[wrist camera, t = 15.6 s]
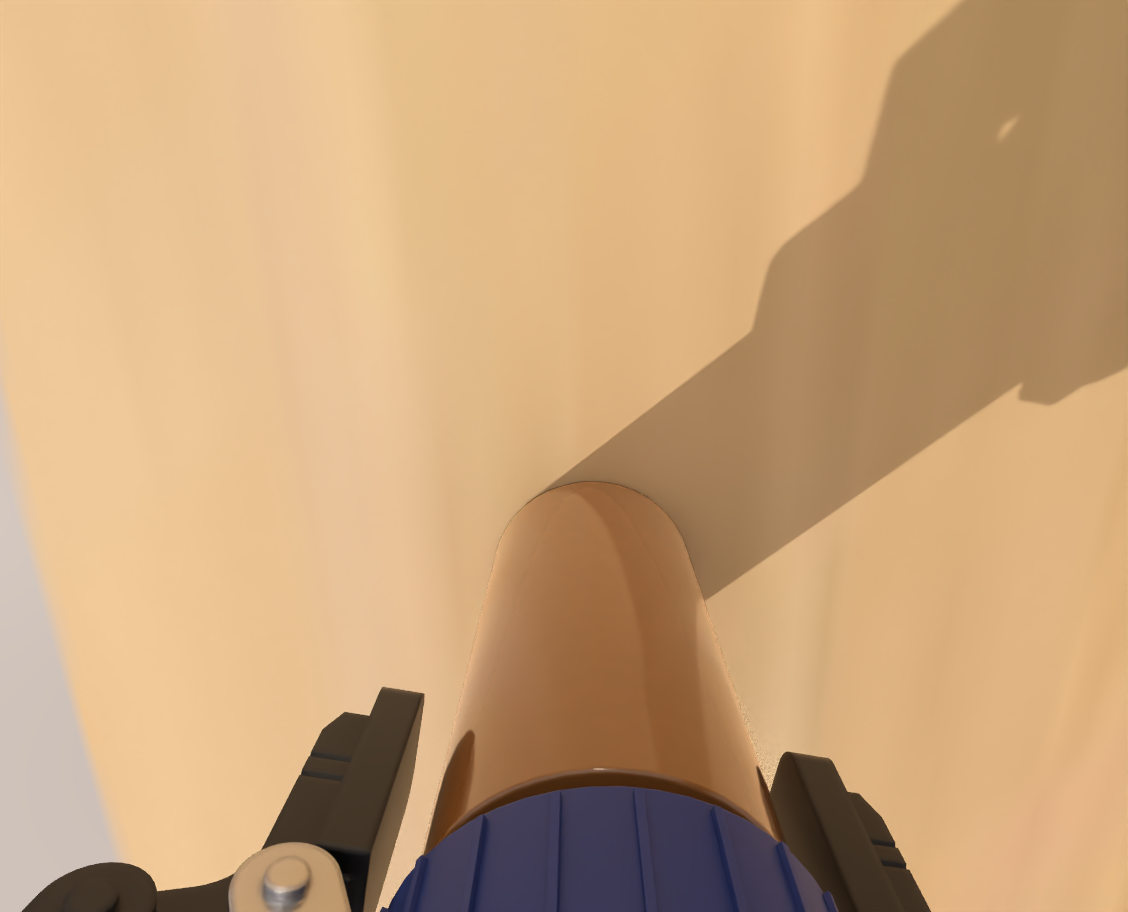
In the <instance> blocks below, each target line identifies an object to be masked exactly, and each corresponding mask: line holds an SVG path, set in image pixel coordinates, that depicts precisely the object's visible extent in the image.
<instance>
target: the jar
mask: <svg viewBox="0 0 1128 912" xmlns="http://www.w3.org/2000/svg"><path fill="white" fill-rule="evenodd" d="M589 786H627V787H637V788H647V789H657V790H661V791H666V792H671V793H675V794H680V795H684V796H689V797H692V798H695V799H698V800H701V801H704V802H707V803H709V804H712V805H716V806H719V807H722V808H723V809H725V810H727V811H729V812H731V813H733V814H735V815H737V816H739V817H741V818H743V819H746V820H747V821H749V822H750V823H752V824H754V825H755V826H757V827H758V828H760V829H761V830H763V831H764V832H766V833H768V834H769V835H771V836H772V837H773V838H774V839H776V840H777V841H778V842H779V843H780V842H781V841H783V842H784V843H785V844H786V845H787V843H786V840H785V837H784V834H783V831H782V828H781V825H780V822H779V819H778V816H777V813H776V810H775V807H774V805H773V802H772V799H771V796H770V793H769V790H768V787H767V784H766V781H765V778H764V775H763V772H762V769H761V766H760V764H759V761H758V758H757V755H756V752H755V749H754V746H753V743H752V740H751V737H750V734H749V731H748V728H747V725H746V723H745V720H744V717H743V714H742V711H741V708H740V705H739V702H738V699H737V696H736V693H735V690H734V687H733V684H732V682H731V679H730V676H729V673H728V670H727V667H726V664H725V661H724V658H723V655H722V652H721V649H720V646H719V643H718V641H717V638H716V635H715V632H714V629H713V626H712V623H711V620H710V617H709V614H708V611H707V608H706V605H705V602H704V600H703V597H702V594H701V591H700V588H699V585H698V582H697V579H696V576H695V573H694V570H693V567H692V564H691V561H690V559H689V556H688V553H687V550H686V547H685V544H684V542H683V539H682V537H681V534H680V532H679V531H678V529H677V527H676V526H675V524H674V522H673V521H672V520H671V519H670V517H669V516H668V515H667V514H666V513H665V512H664V511H663V510H662V509H661V508H660V507H659V506H658V505H657V504H655V503H654V502H653V501H651V500H650V499H648V498H647V497H645V496H644V495H642V494H640V493H638V492H636V491H634V490H631V489H629V488H626V487H623V486H619V485H615V484H611V483H603V482H580V483H572V484H568V485H564V486H560V487H557V488H555V489H552V490H550V491H547V492H545V493H543V494H542V495H540V496H538V497H536V498H535V499H533V500H532V501H531V502H529V503H528V504H527V505H525V506H524V507H523V508H522V509H521V510H520V511H519V512H518V513H517V514H516V515H515V516H514V518H513V519H512V520H511V522H510V523H509V524H508V526H507V528H506V529H505V531H504V533H503V534H502V537H501V539H500V542H499V544H498V547H497V551H496V555H495V559H494V563H493V568H492V572H491V576H490V580H489V584H488V588H487V592H486V596H485V600H484V604H483V608H482V612H481V616H480V620H479V624H478V628H477V632H476V637H475V641H474V645H473V649H472V653H471V657H470V661H469V665H468V669H467V673H466V677H465V681H464V685H463V689H462V693H461V697H460V701H459V706H458V710H457V714H456V718H455V722H454V726H453V730H452V734H451V738H450V742H449V746H448V750H447V754H446V758H445V762H444V766H443V770H442V775H441V779H440V783H439V787H438V791H437V795H436V799H435V803H434V807H433V811H432V815H431V819H430V823H429V827H428V831H427V835H426V839H425V843H424V848H423V852H422V855H424V856H425V855H426V854H428V853H429V852H430V851H431V850H432V849H433V848H434V847H435V846H437V845H438V844H439V843H440V842H441V841H442V840H443V839H445V838H446V837H447V836H449V835H450V834H452V833H453V832H455V831H456V830H458V829H459V828H461V827H462V826H464V825H465V824H467V823H468V822H470V821H472V820H474V819H476V817H478V816H480V815H482V814H486V813H488V812H490V811H492V810H494V809H496V808H499V807H501V806H504V805H507V804H510V803H512V802H515V801H518V800H521V799H524V798H527V797H531V796H535V795H539V794H544V793H548V792H552V791H557V790H564V789H572V788H581V787H589Z"/></svg>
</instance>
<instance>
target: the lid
mask: <svg viewBox="0 0 1128 912" xmlns="http://www.w3.org/2000/svg"><path fill="white" fill-rule="evenodd" d="M380 912H838V909H837V906H836V904H835V901H834V899H833V896H832V895H831V893H830V892H829V891H827V892H825V893H823V891H822V890H821V888H820V887H819V885H818V884H817V882H816V880H815V879H814V877H813V876H812V875H811V874H810V873H809V872H808V870H807V869H806V868H805V867H804V866H803V865H802V864H801V862H800V861H799V860H798V859H797V858H796V857H795V856H794V855H793V854H792V853H791V852H790V850H789V847H788V845H786V844H785V843H784V842H783V841H781V842H780V843H779V842H778V841H777V840H776V839H774V838H773V837H772V836H771V835H769V834H768V833H766V832H764V831H763V830H761V829H760V828H758V827H757V826H755V825H754V824H752V823H750V822H749V821H747V820H746V819H743V818H741V817H739V816H737V815H735V814H733V813H731V812H729V811H727V810H725V809H723V808H722V807H719V806H716V805H712V804H709V803H707V802H704V801H701V800H698V799H695V798H692V797H689V796H684V795H680V794H675V793H671V792H666V791H661V790H657V789H647V788H637V787H627V786H589V787H581V788H572V789H564V790H557V791H552V792H548V793H544V794H539V795H535V796H531V797H527V798H524V799H521V800H518V801H515V802H512V803H510V804H507V805H504V806H501V807H499V808H496V809H494V810H492V811H490V812H488V813H486V814H482V815H480V816H478V817H476V819H474V820H472V821H470V822H468V823H467V824H465V825H464V826H462V827H461V828H459V829H458V830H456V831H455V832H453V833H452V834H450V835H449V836H447V837H446V838H445V839H443V840H442V841H441V842H440V843H439V844H438V845H437V846H435V847H434V848H433V849H432V850H431V851H430V852H429V853H428V854H426V855H425V856H424V855H421V856H420V857H419V858H418V859H417V861H416V864H415V868H414V869H413V870H412V871H411V872H410V874H409V875H408V876H407V877H406V878H405V880H404V881H403V883H402V884H401V886H400V888H399V889H398V891H397V893H396V894H395V896H394V897H393V899H392V901H391V903H390V905H389V908H388V909H387V908H384V907H382V909H381V911H380Z"/></svg>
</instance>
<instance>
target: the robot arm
mask: <svg viewBox="0 0 1128 912" xmlns="http://www.w3.org/2000/svg"><path fill="white" fill-rule="evenodd" d="M423 706H424V694H423V693H417V692H411V691H405V690H399V689H392V688H386V687H382V689H381V690H380V693H379V695H378V697H377V700H376V702H375V704H374V707H373V709H372V711H371V714H370V716H366V715H360V714H354V713H348V712H344V713H343V714H342V715H340V716H339V717H338V718H336V719H335V720H334V721H333V722H331V723H330V724H329V725H328V726H326V727H325V728H324V729H323V730H322V732H321V734H320V736H319V738H318V739H317V741H316V743H315V745H314V747H313V749H312V751H311V755H310V756H309V757H308V759H307V761H306V763H305V765H304V767H303V769H302V772H301V775H299V777H298V779H297V781H296V783H295V785H294V787H293V789H292V791H291V793H290V795H289V797H288V799H287V801H286V803H285V805H284V807H283V809H282V811H281V813H280V815H279V816H278V818H277V820H276V822H275V824H274V826H273V828H272V830H271V832H270V834H269V836H268V838H267V840H266V842H265V844H264V846H263V847H262V849H261V850H260V851H259V852H257V853H255V854H253V855H252V856H251V857H249V858H248V859H247V860H246V861H245V862H244V863H243V864H242V865H241V866H240V867H239V868H238V869H237V871H236V872H235V873H234V874H232V875H231V876H229V877H227V878H224V879H222V880H219V881H217V882H213V883H210V884H207V885H202V886H196V887H189V888H181V889H173V890H165V891H157V889H156V886H155V883H154V881H153V879H152V878H151V876H150V875H149V874H148V873H146V872H145V871H144V870H142V869H140V868H139V867H136V866H133V865H131V864H125V863H115V862H110V863H99V864H94V865H90V866H86V867H83V868H80V869H77V870H75V871H72V872H70V873H68V874H66V875H64V876H62V877H60V878H59V879H57V880H55V881H54V882H53V883H51V884H50V885H48V886H47V887H46V888H45V889H44V890H43V891H42V892H40V893H39V894H38V895H37V896H36V897H35V898H34V899H33V900H32V901H31V902H30V903H29V905H27V906H26V907H25V909H24V910H23V911H22V912H375V911H376V908H377V904H378V901H379V898H380V894H381V891H382V887H383V884H384V881H385V877H386V874H387V870H388V867H389V864H390V860H391V857H392V853H393V850H394V847H395V843H396V840H397V836H398V833H399V830H400V826H401V823H402V819H403V816H404V813H405V809H406V806H407V802H408V798H409V793H410V789H411V784H412V779H413V774H414V768H415V761H416V754H417V747H418V740H419V733H420V727H421V720H422V713H423ZM770 796H771V799H772V802H773V805H774V807H775V810H776V813H777V816H778V819H779V822H780V825H781V828H782V831H783V834H784V837H785V840H786V843H787V845H788V847H789V850H790V852H791V853H792V854H793V855H794V856H795V857H796V858H797V859H798V860H799V861H800V862H801V864H802V865H803V866H804V867H805V868H806V869H807V870H808V872H809V873H810V874H811V875H812V876H813V877H814V879H815V880H816V882H817V884H818V885H819V887H820V888H821V890H822V891H823V893H825V892H827V891H829V892H830V893H831V895H832V896H833V899H834V901H835V904H836V906H837V909H838V912H931V911H930V909H929V907H928V905H927V903H926V901H925V899H924V897H923V895H922V893H921V891H920V890H919V888H918V886H917V884H916V882H915V880H914V878H913V876H912V874H911V872H910V870H907V869H906V863H905V861H904V859H903V857H902V855H901V853H900V851H899V849H898V848H895V842H894V840H893V838H892V836H891V834H890V832H889V830H888V828H887V826H886V824H885V822H884V820H883V819H882V817H881V816H880V815H879V814H878V813H877V812H876V811H875V810H874V809H873V808H872V807H871V806H870V805H869V804H868V803H867V802H866V801H865V800H864V799H863V798H862V796H861V795H860V794H857V793H851V792H847V790H846V788H845V786H844V784H843V782H842V780H841V778H840V776H839V774H838V772H837V770H836V768H835V765H834V764H833V762H832V761H831V760H830V759H829V758H823V757H817V756H811V755H805V754H799V753H792V752H785V753H784V754H783V755H782V757H781V759H780V762H779V765H778V768H777V771H776V774H775V778H774V781H773V784H772V788H771V791H770Z"/></svg>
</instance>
